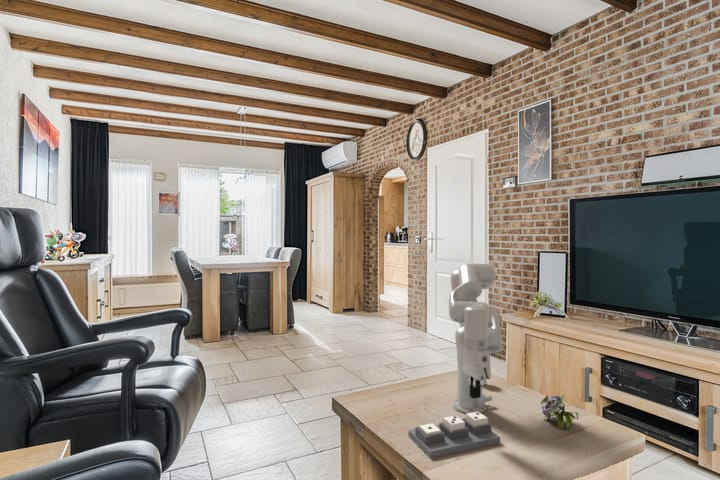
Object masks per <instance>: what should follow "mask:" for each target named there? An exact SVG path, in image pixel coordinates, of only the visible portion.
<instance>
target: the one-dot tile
mask: <svg viewBox="0 0 720 480" xmlns="http://www.w3.org/2000/svg"><path fill="white" fill-rule="evenodd" d="M418 427H419V429H420V430H421V431H422V432H423V433H424V434H425V435H426V436H430V435H435V434H440V433H441V430H440V429H439V428H438V427H436V426H435V424H434V423H433V422H431V423H427V424H420V425H419V426H418Z"/></svg>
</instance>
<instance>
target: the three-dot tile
mask: <svg viewBox="0 0 720 480" xmlns="http://www.w3.org/2000/svg"><path fill="white" fill-rule="evenodd" d="M442 422H443V425H444V426H445V427H447V428H448V429H449V430H450V431H456V430H461V429H465V422H464V421H463V420H462V419H461V418H460V417H459V416H457V415H453V416H452V415H451V416H445V417H442Z"/></svg>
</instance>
